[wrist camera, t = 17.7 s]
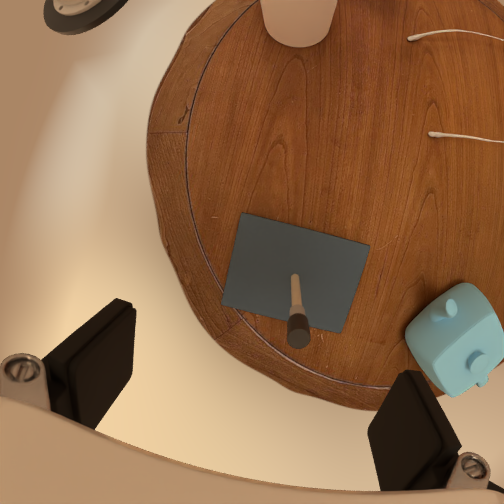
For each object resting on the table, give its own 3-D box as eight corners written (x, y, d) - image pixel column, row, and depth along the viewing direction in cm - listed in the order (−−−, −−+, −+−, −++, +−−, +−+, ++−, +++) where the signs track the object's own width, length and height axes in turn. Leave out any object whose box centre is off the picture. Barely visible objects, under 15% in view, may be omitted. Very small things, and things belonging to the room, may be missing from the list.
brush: (285, 282, 39) (284, 346, 24) (289, 268, 39) (290, 326, 24) (300, 286, 39) (306, 351, 24) (304, 272, 39) (313, 331, 24)
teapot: (446, 241, 36) (493, 264, 25) (489, 331, 38) (527, 367, 27) (375, 299, 39) (402, 342, 28) (429, 380, 41) (456, 427, 30)
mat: (221, 302, 41) (220, 304, 41) (242, 212, 38) (241, 212, 38) (340, 331, 41) (340, 333, 40) (369, 245, 38) (370, 246, 37)
